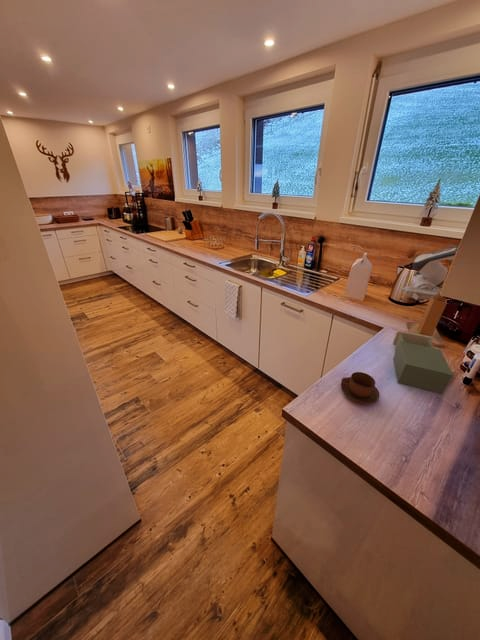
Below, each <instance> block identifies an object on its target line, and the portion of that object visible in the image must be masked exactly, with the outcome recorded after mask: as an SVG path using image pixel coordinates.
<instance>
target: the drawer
mask: <svg viewBox="0 0 480 640" xmlns="http://www.w3.org/2000/svg"><path fill="white" fill-rule="evenodd" d="M400 341H401V342H406V343H411V344H416V345H421V346H426V347H430V348H435V346H433V345H432V343H431V337H430V336H425V335H420V334H416V333H411V332H409V331H405V330H398V329H397V330H396V333H395V335H394V337H393V340H392V344H391V345H392V346H394V347H395V351H396V350H397V348H398V345H399V342H400Z"/></svg>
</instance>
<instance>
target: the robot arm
mask: <svg viewBox="0 0 480 640" xmlns="http://www.w3.org/2000/svg"><path fill="white" fill-rule="evenodd" d="M459 245H460V244H458V245H454V246H450V247H447V248H443V249H440V250H436V251H432V252H425V253H424V252H423V253H422V254H420V255H418V256H416V257H415V258H414V260H413V262H412V269H413V270H414V271H416V272H417V273H418V274H415V275H416V276H415V275H413V276H412V277H411V279H410V281H409V285H406V286H403V287H401V290H402V291H403V292H402V296H403V297H405V298H411V299H415V300H416V301H421V300H423V301H428V302H429V301H430V298H431V296H434V295H435V294H437V293H440V291H441V288H442V287H443V285H444V284H443V282H444V280H445V277H446V275H447V272H448V270H449V269H448V268H447V267H446V266H444V265H443V264H442V263H441V262H443V261H448V260H449V261H454V260H453V258H454V256H455V253H456V251H457V248H458V246H459ZM447 300H450V299H446V301H447Z"/></svg>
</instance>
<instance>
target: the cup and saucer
mask: <svg viewBox="0 0 480 640" xmlns="http://www.w3.org/2000/svg"><path fill="white" fill-rule="evenodd" d="M340 389H341V391H342V392H343V394H344V395H345V396H346V397H347V398H349V399H350V400H352V401H354V402H357V403H359V404H365V405H366V404H367V405H370V404H375V403H376V402H377V401H378V400H379V399H380V395H381V394H380V392H379V389H378V388H377V387H376V380H375V379H374V377H373V376H371V375H370V374H368V373H365V372H362V371H354V372H353V373H351V375H350V376H349V377H346V376H345V377H343V378H341V381H340Z"/></svg>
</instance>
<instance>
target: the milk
mask: <svg viewBox="0 0 480 640" xmlns="http://www.w3.org/2000/svg"><path fill="white" fill-rule="evenodd" d="M367 256H368V252H364V253H363V255H362V257H361V258H357V259H356V260H355V261H354V262H353V263H352V265H351V267H350V270H349V274H348V277H347V281H346V285H345V289H344V292H343V295H342V297H343V298H348V299H352V300H358V301H361V302H362V301H364V300H365V298H366V295H367V290H368V287H369V282H370V277H371V273H372V269H373V265H372V263H371V261H370V260H369V259H368V258H367Z"/></svg>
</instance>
